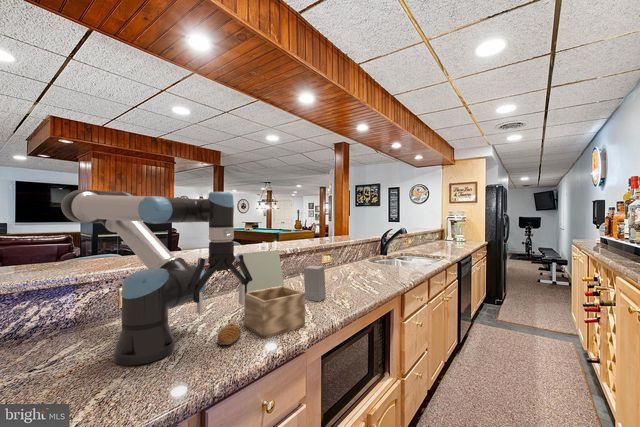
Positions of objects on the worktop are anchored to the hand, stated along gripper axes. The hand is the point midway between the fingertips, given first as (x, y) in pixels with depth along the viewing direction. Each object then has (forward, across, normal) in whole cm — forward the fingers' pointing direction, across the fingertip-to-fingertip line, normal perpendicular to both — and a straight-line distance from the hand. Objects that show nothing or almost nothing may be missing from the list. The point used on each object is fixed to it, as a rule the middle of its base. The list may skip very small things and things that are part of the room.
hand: (221, 308), depth 94 cm
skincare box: (+11, +53, +18) cm, 57 cm away
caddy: (+11, +20, +1) cm, 23 cm away
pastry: (+12, -1, 0) cm, 12 cm away
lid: (-1, +20, +8) cm, 22 cm away
